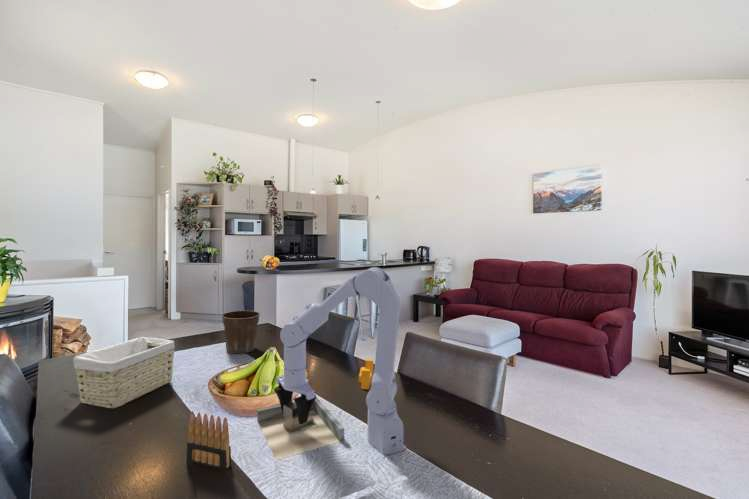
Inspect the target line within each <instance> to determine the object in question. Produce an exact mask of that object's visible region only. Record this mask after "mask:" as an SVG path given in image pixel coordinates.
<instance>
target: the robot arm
mask: <svg viewBox="0 0 749 499" xmlns="http://www.w3.org/2000/svg"><path fill="white" fill-rule="evenodd" d="M359 295H361V296H363V297H365V298H367V299H368V300H371V301H372V303H374V305H376V307H377V308H378V309H379V314H378V315H379V316H378V324H377V325H378V326H377V336H376V348H375V359H374V368H373V377H372V381H371V384H370V388H369V391H368V392H367V395H366V397H365V403H366V404H365V405H366V406H367V429H366V430H367V438H366V441H367V443H368V444H369V445H370V446H372V447H373V448H375V449H376V450H378V452H379V453H380V454H381V455H387V456H389V455H392V454H395V453H398V452H401V451H404V450H406V449H407V446H406V445H405V444H404V434H405V433H404V431H405V430H404V428H405V427H404V422H403V421H402V419H401V418H400V416H399V415H398V412H397V403H396V401H395V400H394V398H395V396H396V394H397V392H398V384H397V381H396V372H395V364H396V363H395V361H396V350H397V342H398V329H399V318H400V308H401V299H400V297H399V295H398V293H397V291H396V289H395V286H394V285H393V283H392V279H391V276H389V274H387V273H386V272H385V270H383V268H380V267H378V266H372V267H369V268H367V269H364V270H361V271H360V272H358V273H357V274H356V275H354V276H352V277H350V278H349V279H347V280H346V281H344V282H343V283H342V284H341V285H340V286H339V287H337V289H335V290H334V291H333V292H332V293H331V294H330V295H329V296H327V298H326V299H324V300H323V301H322V302H320V303H318V302H314V303H309V304H307V305H306V306H305V307H304V308H305V310H304V311H302V312H301V313H300V314H299V315H296V316H294V317H293V318H292V320H293V321H292V322H290V323H287V324H285V325H284V326H283V327H282V329H281V330H280V333H279V337H280V338H279V339H280V341H281V342H282V344H283V374H282V375H278V376H276V385H278V386H276V387H274V388H273V389H274V393H275V394H276V395H277V396H276V397H277V399H278V401H279V405H281V409H282V413H283V405H284V404H287V403H290V402H294V401H295V403H296V406H297V410H298V420H299V424H303V423H305V422H307V420H308V416H309V412H310V409H311V406H312V404H313V402H314V401H315V399H316V397H317V395H316V393H315V392H316V391H315V389H313V388H312V387H311V386H310V385H309V382H310V380H309V379H308V378H306V377H307V376H306V374H307V367H306V366H307V365H306V364H307V339H308V338H309V336H310V335H312V334H313V333H314V332H315V331H317V329H319V328H320V327H321V326H322V325H324V324H325V323H326V322H328V320H329V313H331V311H333V310H334V309H336V308H337V307H338V306H339V305H340V304H342V303H343V302H344V301H346V300H348V298H350V297H356V296H359ZM294 393H297V394H300V396H298V397H294V398H293V394H294ZM292 400H293V401H292Z"/></svg>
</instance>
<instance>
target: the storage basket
mask: <svg viewBox="0 0 749 499" xmlns="http://www.w3.org/2000/svg"><path fill="white" fill-rule="evenodd" d="M149 346H151V347H152V348H149ZM175 347H176V346H175V341H174V340H172V339H171V340H170V339H164V338H154V337H145V336H140V337H137V338H133V339H130V340H127V341H122V342H119V343H117V344H113V345H110V346H106V347H104V348H100V349H95V350H92V351H89V352H84V353H82V354H77V355H76V356H74V357H73V358H72V359H73V360H72V361H73V369H74V370H75V375H76V380H77V385H78V386H77V387H78V391H79V398H80V402H81V403H82V404H86V405H87V404H88V405H91V406H97V407H99V408H100V407H101V408H102V407H103V408H106V409H117V408H118V407H121V406H124V405H126V404H127V403H130V402H131V401H133V400H136V399H138V398H140V397H142V396H144V395H146V394H148V393H151V392H152V391H155V390H157V389H159V388H160V387H162V386H164V385H168V384H169V383H171V382H172V381H173V371H174V370H173V367H174V356H175V355H174V354H175Z"/></svg>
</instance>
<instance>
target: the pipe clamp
mask: <svg viewBox="0 0 749 499" xmlns="http://www.w3.org/2000/svg"><path fill="white" fill-rule="evenodd" d="M359 370H360V371H359V375H358V383H361V384H360V385H361V386H360V388H361V390H370V388H371V382H372V378H373V374H374V359H373V358H366V359H365V366H362V367H360V369H359Z"/></svg>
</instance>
